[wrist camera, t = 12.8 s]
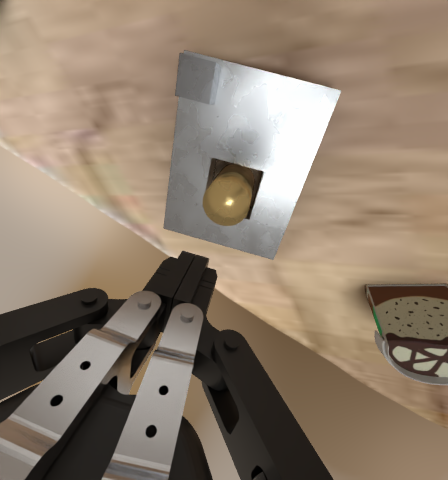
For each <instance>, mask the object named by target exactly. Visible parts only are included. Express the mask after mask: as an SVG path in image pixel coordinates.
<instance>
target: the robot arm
mask: <svg viewBox="0 0 448 480" xmlns="http://www.w3.org/2000/svg"><path fill="white" fill-rule="evenodd" d="M208 262H209V258H206V257H203V256H199V255H196V254H192V253H189V252H185V251H182V252H181V254H180V256H179V257H178V259H177V258H173V257H169V258H168V259H166V260H164V261H163V262H162V264H161V265H160V266H159V268H158V269H157V271H156V272H155V273H154V275H153V276H152V278H151V279H150V280H149V282H148V283H147V285H146V286H145V288H144V289H143V290H142V291H139V292H136V293H134V294H133V295H131V296H130V297H129V298H128V299H119V300H118V299H108V295H107V294H106V293H105V292H104V291H103V290H101V289H97V288H88V289H83V290H80V291H77V292H73V293H70V294H67V295H63V296H60V297H57V298H54V299H51V300H47V301H44V302H40V303H37V304H34V305H30V306H27V307H24V308H20V309H17V310H13V311H10V312H7V313H4V314H0V400H1V399H4V398H6V397H8V396H10V395H12V394H14V393H16V392H18V391H21V390H23V389H24V388H27V387H29V386H31V385H33V384H35V383H37V382H39V381H42V380H43V381H42V382H41V383H40V384H38V385H35V386H33V387H30V388H28V389H26V390H24V391H22V392H20V393H18V394H16V395H14V396H12V397H10V398H8V399H6V400H4V401H2V402H1V403H0V480H213V479H212V475H211V472H210V469H209V466H208V463H207V459H206V456H205V453H204V450H203V447H202V444H201V441H200V439H199V437H198V435H197V433H196V431H195V430H194V428H193V427H192V425H191V424H190V423H189V422H188V420H186V419H185V418H184V417H183V416H182V414H183V409H184V405H185V400H186V396H187V391H188V386H189V382H190V378H191V373H192V374H193V375H195V376H196V377H197V378H199V379H200V380H201V381H202V386H203V389H204V392H205V394H206V396H207V399H208V401H209V403H210V406H211V408H212V411H213V413H214V416H215V418H216V421H217V423H218V425H219V428H220V430H221V433H222V435H223V438H224V440H225V443H226V445H227V447H228V450H229V452H230V455H231V457H232V460H233V462H234V465H235V467H236V469H237V472H238V474H239V477H240V479H241V480H333V478H332V476H331V475H330V473H329V472H328V470H327V468H326V467H325V465H324V464H323V462H322V461H321V459H320V457H319V456H318V454H317V453H316V451H315V449H314V448H313V446H312V445H311V443H310V441H309V440H308V438H307V437H306V435H305V433H304V432H303V430H302V429H301V427H300V425H299V424H298V422H297V421H296V419H295V418H294V416H293V414H292V413H291V411H290V410H289V408H288V406H287V405H286V403H285V402H284V400H283V398H282V397H281V395H280V394H279V392H278V390H277V389H276V387H275V386H274V384H273V383H272V381H271V379H270V378H269V376H268V374H267V373H266V371H265V370H264V368H263V367H262V365H261V363H260V362H259V360H258V359H257V357H256V356H255V354H254V353H253V351H252V349H251V347H250V346H249V344H248V343H247V341H246V340H245V338H244V337H243V336H242V335H241V334H240V333H238V332H236V331H234V330H223V331H219V330H217V329H216V328H214V327H213V326H212V325H211V324H210V323H209V322H208V320H207V317H206V314H207V311H208V307H209V304H210V301H211V298H212V295H213V291H214V287H215V284H216V280H217V274H216V270H214V269H211V268H207V266H208ZM72 329H73V330H72ZM69 330H72V331H69ZM66 331H69V332H67V333H65V334H61V333H64V332H66ZM160 332H163V336H162V338H161V341H160V343H159V346H158V348H157V350H155V351H154V353H153V355H152V357H151V360H150V363H149V365H148V368H147V370H146V373H145V375H144V378H143V381H142V383H141V386H140V388H139V391H138V393H137V395H129V392H130V389H131V387H132V384H133V382H134V381H135V379H136V377H137V376H138V374H139V372H140V370H141V369H142V367H143V365H144V363H145V362H146V360H147V358H148V357H149V355H150V354H151V352H152V350H153V348H154V346H155V344H156V340H157V338H158V336H159V334H160ZM58 334H61V335H59V336H56V335H58ZM54 336H56V337H54ZM51 337H54V338H51ZM48 338H51V339H49V340H46V339H48ZM43 340H46V341H43ZM41 341H43V342H41ZM38 342H41V343H38ZM37 343H38V344H37Z"/></svg>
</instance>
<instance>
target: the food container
mask: <svg viewBox="0 0 448 480" xmlns="http://www.w3.org/2000/svg"><path fill="white" fill-rule="evenodd" d="M365 292H366V295H367V298H368V301H369V304H370V307H371V310H372V313H373V316H374V319H375V322H376V325H377V328H378V331H379V333H378V332H377V331H376V330H375V342H376V344H377V347H378V349H379V350H380V351H381V353H382V354H383V355H384V357H385V358H386V359H387V361H388V362H389V363H390V364H391V365H392V366H393V367H394V368H395V369H396V370H397V371H399V372H400V373H401V374H403V375H404V376H406V377H408V378H411V379H413V380H416V381H419V382H423V383H428V384H435V385H448V285H447V284H381V285H365ZM379 334H380V335H379Z"/></svg>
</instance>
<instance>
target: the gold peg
mask: <svg viewBox="0 0 448 480" xmlns="http://www.w3.org/2000/svg"><path fill="white" fill-rule="evenodd" d="M253 188H254V176H253V173H252V172H251V170H250V169H249V168H248V167H245V166H242V165H238V164H234V163H233V164H229V165H227V166H226V167H224V168H223V169H222V171H221V172H220V173H219V174H218V176H217V177H216V178H215V180H214V181H213V182H212V183H211V185H210V186H209V187H208V188H207V190H206V191H205V193H204V196H203V209H204V211H205V213H206V215H207V216H208V218H209V219H210V220H212V221H213V222H215V223H216V224H219V225H222V226H232V225H236V224H238V223H240V222H241V221H242V220H243V219H244V218H245V217H246V216H247V214H248V211H249V207H250V202H251V198H252V193H253Z"/></svg>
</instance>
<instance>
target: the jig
mask: <svg viewBox="0 0 448 480" xmlns="http://www.w3.org/2000/svg"><path fill="white" fill-rule="evenodd" d="M340 92H341V90H337V89H333V88H329V87H325V86H321V85H317V84H314V83H310V82H306V81H302V80H298V79H294V78H290V77H287V76H283V75H279V74H275V73H271V72H267V71H263V70H259V69H256V68H252V67H248V66H244V65H240V64H236V63H232V62H229V61H225V60H221V59H217V58H213V57H209V56H205V55H202V54H198V53H194V52H190V51H186V50H184V54H183V53H180V56H179V65H178V74H177V83H176V92H175V96H179V100H178V109H177V117H176V126H175V134H174V143H173V151H172V160H171V168H170V177H169V185H168V194H167V203H166V211H165V220H164V229H167V230H171V231H174V232H178V233H181V234H185V235H188V236H192V237H195V238H199V239H202V240H206V241H209V242H213V243H216V244H220V245H223V246H226V247H230V248H233V249H237V250H240V251H244V252H247V253H251V254H254V255H258V256H261V257H265V258H268V259H272V260H274V257H275V255H276V252H277V250H278V247H279V245H280V242H281V240H282V237H283V235H284V232H285V230H286V227H287V225H288V222H289V220H290V217H291V215H292V212H293V210H294V207H295V205H296V202H297V200H298V197H299V195H300V192H301V190H302V187H303V185H304V182H305V180H306V177H307V175H308V172H309V170H310V167H311V165H312V162H313V160H314V157H315V155H316V152H317V150H318V147H319V145H320V142H321V140H322V137H323V135H324V132H325V130H326V127H327V125H328V122H329V120H330V117H331V115H332V112H333V110H334V107H335V105H336V102H337V100H338V97H339V95H340ZM217 159H220V160H223V161H227V162H231V163H234V164H238V165H242V166H245V167H249V168H253V169H256V170H260V171H263V173H262V177H261V180H260V183H259V186H258V190H257V193H256V196H255V199H254V203H253V206H252V209H250V208H249V211H248V214H247V216H246V217H245V218H244V219H243V220H242V221H241V222H240V223H238V224H236V225H232V226H222V225H219V224H216V223H215V222H213V221H212V220H210V219H209V218H208V216H207V215H206V213H205V211H204V209H203V196H204V193H205V191H206V190H207V188H208V187H209V186H210V185H211V183H212V180H213V175H214V170H215V165H216V160H217Z"/></svg>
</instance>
